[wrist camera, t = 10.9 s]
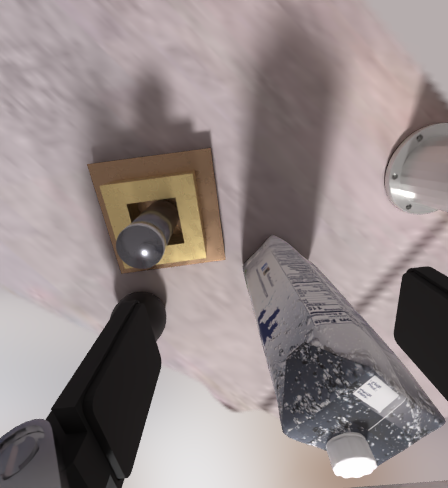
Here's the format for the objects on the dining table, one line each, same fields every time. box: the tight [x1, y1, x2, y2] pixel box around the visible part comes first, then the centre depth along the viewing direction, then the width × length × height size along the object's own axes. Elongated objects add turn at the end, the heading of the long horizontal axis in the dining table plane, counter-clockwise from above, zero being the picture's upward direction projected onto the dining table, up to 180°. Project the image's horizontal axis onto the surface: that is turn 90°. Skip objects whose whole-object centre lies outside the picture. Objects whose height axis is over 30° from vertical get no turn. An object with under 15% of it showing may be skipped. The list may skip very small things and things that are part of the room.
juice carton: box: [243, 235, 445, 478], centre depth 28 cm, size 9×10×27 cm
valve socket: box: [87, 148, 225, 274], centre depth 34 cm, size 16×16×6 cm
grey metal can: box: [116, 200, 179, 269], centre depth 29 cm, size 4×4×12 cm
